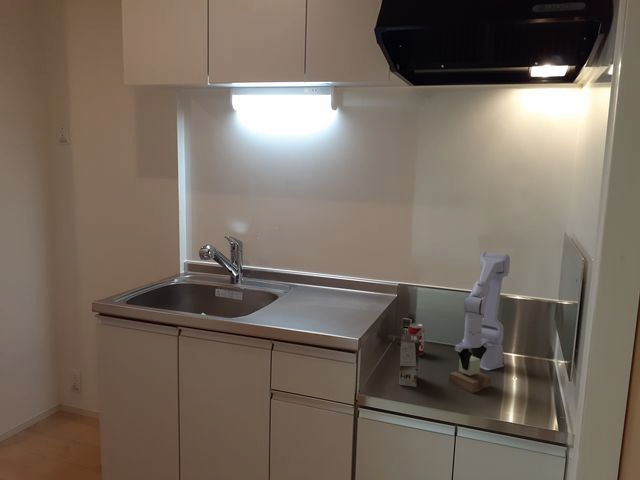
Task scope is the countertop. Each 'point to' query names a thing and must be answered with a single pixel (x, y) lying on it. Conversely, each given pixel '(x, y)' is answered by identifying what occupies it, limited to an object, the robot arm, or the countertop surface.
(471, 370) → the sage cube
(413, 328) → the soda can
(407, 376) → the coffee box
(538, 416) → the countertop surface
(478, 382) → the walnut base
